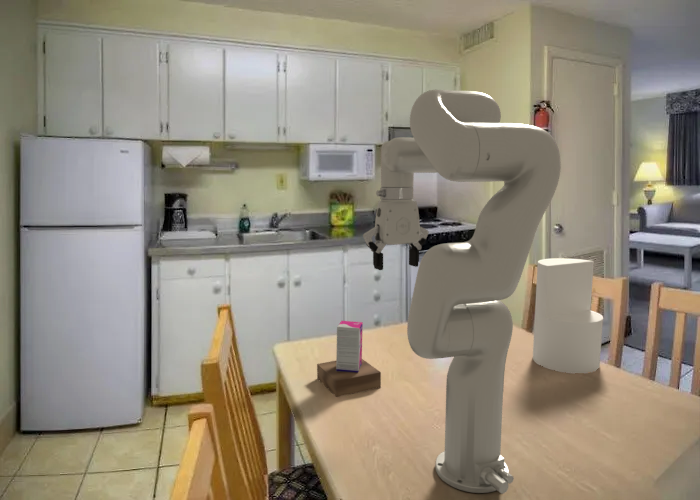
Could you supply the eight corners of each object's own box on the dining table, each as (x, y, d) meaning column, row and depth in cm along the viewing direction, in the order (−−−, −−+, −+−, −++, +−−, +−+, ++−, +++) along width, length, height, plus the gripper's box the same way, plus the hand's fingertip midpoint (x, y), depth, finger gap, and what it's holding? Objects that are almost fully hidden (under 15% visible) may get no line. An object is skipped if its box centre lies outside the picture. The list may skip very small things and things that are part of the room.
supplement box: (359, 373, 122) (359, 328, 120) (335, 371, 123) (335, 326, 121) (362, 364, 127) (362, 321, 126) (340, 362, 128) (339, 320, 127)
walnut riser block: (380, 387, 123) (380, 372, 122) (336, 397, 118) (336, 381, 117) (358, 370, 134) (358, 356, 133) (317, 378, 128) (317, 363, 128)
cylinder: (519, 356, 144) (524, 260, 140) (563, 347, 151) (568, 256, 147) (568, 378, 128) (574, 271, 124) (614, 367, 135) (622, 266, 131)
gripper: (372, 196, 108) (371, 273, 111) (437, 194, 116) (435, 267, 118) (356, 195, 115) (356, 268, 118) (419, 193, 122) (418, 262, 125)
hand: (396, 267), depth 118 cm, fingers open, 9 cm apart
